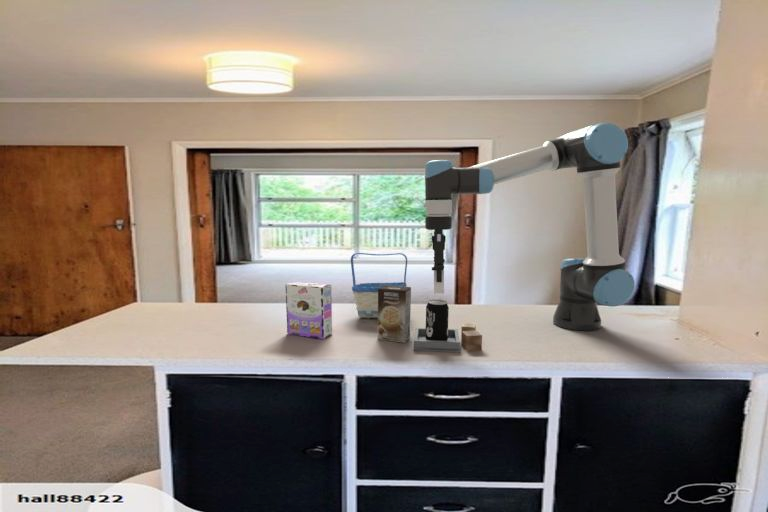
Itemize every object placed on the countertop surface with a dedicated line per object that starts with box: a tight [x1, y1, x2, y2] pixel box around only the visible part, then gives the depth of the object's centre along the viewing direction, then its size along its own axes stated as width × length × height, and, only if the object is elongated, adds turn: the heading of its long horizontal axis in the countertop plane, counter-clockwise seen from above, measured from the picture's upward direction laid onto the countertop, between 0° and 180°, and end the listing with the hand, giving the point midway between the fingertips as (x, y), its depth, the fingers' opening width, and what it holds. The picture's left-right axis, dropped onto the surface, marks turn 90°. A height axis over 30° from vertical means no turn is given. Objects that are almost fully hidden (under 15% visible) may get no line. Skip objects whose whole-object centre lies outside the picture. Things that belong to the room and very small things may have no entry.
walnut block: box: [460, 330, 483, 352], centre depth 128 cm, size 4×4×4 cm
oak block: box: [460, 322, 477, 340], centre depth 138 cm, size 4×4×4 cm
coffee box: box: [376, 285, 412, 343], centre depth 136 cm, size 9×6×16 cm
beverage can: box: [425, 299, 449, 341], centre depth 131 cm, size 7×7×12 cm
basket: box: [350, 252, 408, 319], centre depth 162 cm, size 21×16×24 cm
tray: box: [413, 327, 461, 353], centre depth 131 cm, size 13×13×3 cm
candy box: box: [285, 280, 333, 340], centre depth 140 cm, size 14×6×16 cm, turn 65°
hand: (438, 288), depth 130 cm, fingers open, 13 cm apart
